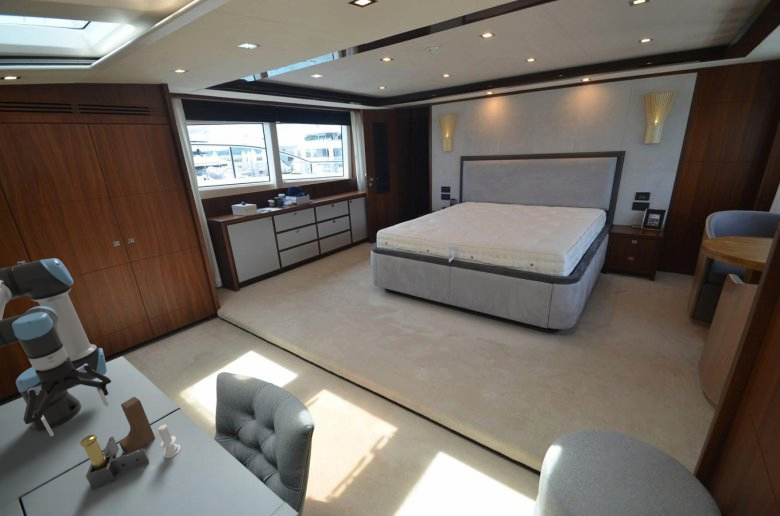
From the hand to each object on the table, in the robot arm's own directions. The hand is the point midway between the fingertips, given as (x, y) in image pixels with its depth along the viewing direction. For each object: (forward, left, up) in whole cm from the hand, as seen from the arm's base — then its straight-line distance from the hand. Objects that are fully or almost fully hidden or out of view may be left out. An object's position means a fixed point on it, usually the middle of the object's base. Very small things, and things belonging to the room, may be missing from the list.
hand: (80, 418), depth 106 cm
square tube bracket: (+2, +5, -23) cm, 24 cm away
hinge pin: (+3, -1, -23) cm, 23 cm away
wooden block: (-2, +11, -23) cm, 26 cm away
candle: (+12, +16, -23) cm, 31 cm away
